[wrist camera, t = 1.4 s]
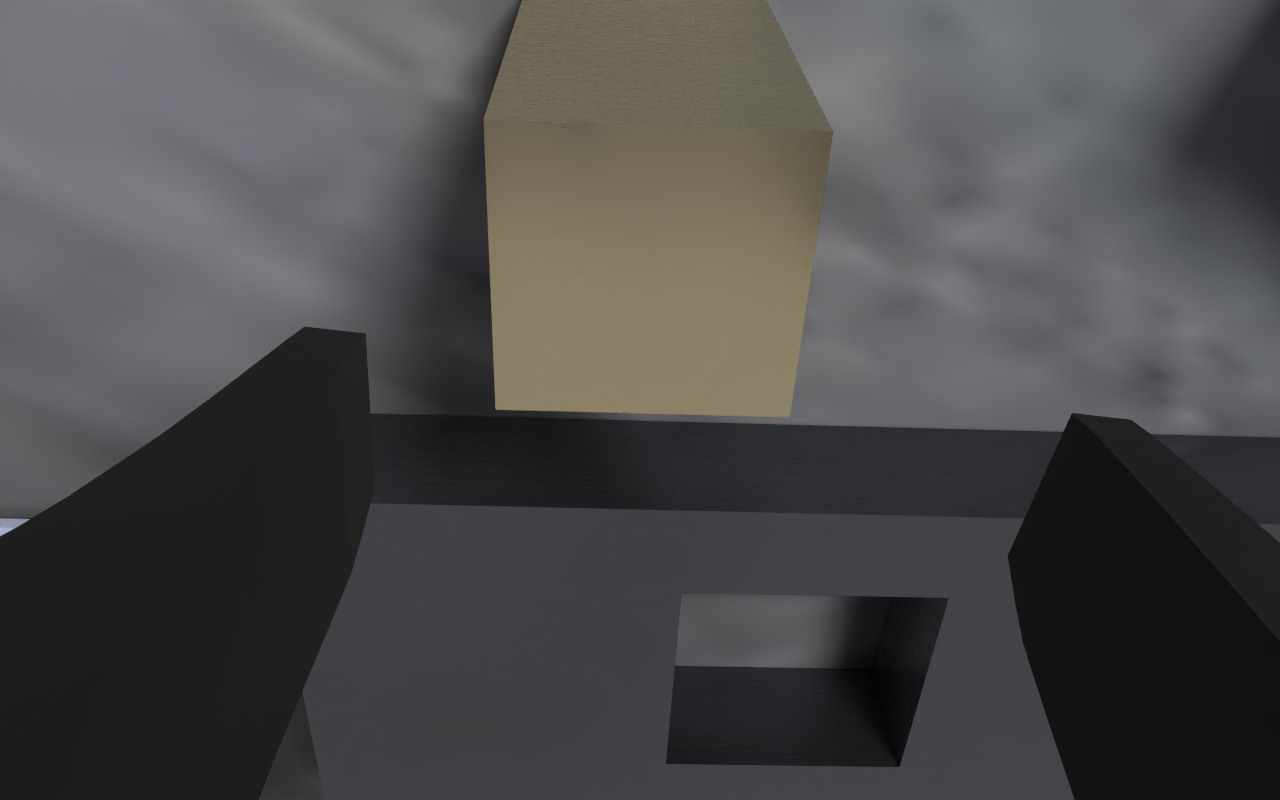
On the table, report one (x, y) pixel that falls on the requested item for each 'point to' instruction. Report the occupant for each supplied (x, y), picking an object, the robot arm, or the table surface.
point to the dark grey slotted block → (650, 606)
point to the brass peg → (651, 208)
